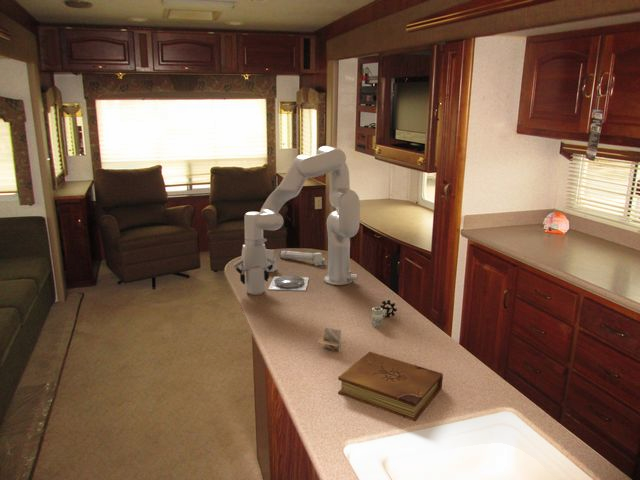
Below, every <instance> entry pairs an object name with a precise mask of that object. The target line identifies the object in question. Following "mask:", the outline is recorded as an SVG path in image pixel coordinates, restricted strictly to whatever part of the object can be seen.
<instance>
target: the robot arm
mask: <svg viewBox="0 0 640 480" xmlns="http://www.w3.org/2000/svg"><path fill="white" fill-rule="evenodd" d="M346 160H347V156H346V153H345V151H343V150H342V149H341V148H338V147H334V146H330V145H323V146H320V147H318V149H317V151H316V154H315V155H314V154H313V155H309V154H299V155H297V156H296V157H295V158H294V160H293V161H292V162H291V164H290V167H289V168H288V170H287V172H286V173H285V175H284V177H283V178H282V180H281V182H280V183H279V185H278V186H277V187H275V189H274V190H273V191H272V192H271V193H270V194H269V196H268V197H267V198H266V200H264V201H265V202H264V203H263V205H262V206H261V208H260V211H248V212H246V213H245V214H244V221H243V222H244V244H242V247H241V248H242V249H241V257H240V258H241V259H240V260H238V261H236V262H235V263H233V267H234V269H235V270H236V272H238V273H239V275H240V277H239V278H240V282H241V283H242V284H243V285H245V284H246V274H245V273H246V270H251V268H258V267H261V268H264V269H265V270H264V278H265V283H266V282H268V280H269V279H270V275H269V273H270V270H271V269H272V268H273V265H274V263H275V261H274V260H272V259H270V258H267V255H266V249H267V248H266V246H265V245H266V244H265V243H266V242H267V241H268V238H264V231H277V230H280V229H281V228H282V227H283V226H284V218H283V216H282V215H281V214H280V213H279V212H280V211H281V208H282V207H283V206H284V204H286V203H287V202H288V201H290V200H292V199H294V198H296V197H297V196H298V195H299V194H300V192H301V190H302V188H303V187H304V185H305V184H306V182H307V180H308V178H309V179H310V178H311V179H313V178H316V177H320V176H324V175H327V174H328V177H329V198H328V199H329V203H330V205H331V206H332V207H333V208H335V209H337V210H333V211H331V212H330V213H329V214H328V216H327V218H326V228H327V229H326V230H327V239H328V240H327V241H328V242H327V245H328V246H327V249H328V250H327V257H328V258H327V275H325V276H324V282H325V283H327V284H329V285H335V286H344V285H349V284H351V283H353V281H358V278H359V277H358V274H355V273H354V274H353V273H352V270H351V269H350V261H351V259H350V256H351V255H350V254H351V253H350V252H351V251H350V247H351V238H353V237H355V236H356V235H357V233H358V232H359V229H360V223H361V222H360V220H361V214H360V213H361V201H360V197H359V195H358V194H357V193H358V192H356V191H354V190H353V189H351V188H350V187H351V186H350V185H351V184H350V172H349V171H350V170H349V167H348V164H347V162H346ZM267 261H268V262H271V263H270V265H269V266H268V267H267ZM240 265H241V268H240V267H239V266H240Z"/></svg>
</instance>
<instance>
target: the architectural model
mask: <svg viewBox="0 0 640 480" xmlns="http://www.w3.org/2000/svg"><path fill="white" fill-rule="evenodd" d="M341 331H342V329H338V328H331V327H324V336H323V337H320V338H319V339H318V341H317V342H316V343H318V344H323V345H324V348H327V349H330V350H331V351H332V352H335V350H338V353H340V352H341V351H342V339H341V338H342V337H341V335H342V332H341Z"/></svg>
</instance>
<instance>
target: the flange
mask: <svg viewBox="0 0 640 480" xmlns="http://www.w3.org/2000/svg"><path fill="white" fill-rule="evenodd" d="M309 280H310V277H306V276H299V275H282V276H281V275H280V276H276V275H275V276H273V278H272V281H271V282H270V284H269V287H267V288H268V289H267V290H268V291H291V292H292V291H293V292H296V291H297V292H305V291H307V287H308V284H309Z"/></svg>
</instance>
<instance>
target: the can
mask: <svg viewBox="0 0 640 480" xmlns="http://www.w3.org/2000/svg"><path fill="white" fill-rule="evenodd" d="M245 273H246V274H245V282H246V292H247V293H248V294H250V295H253V296H257V295H259V296H260V295H262V294H263V293H264V292H265V291H266V289H265V287H266V286H265V283H266V281H265V278H264V268H261V267H258V268H251V270H246V271H245Z"/></svg>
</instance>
